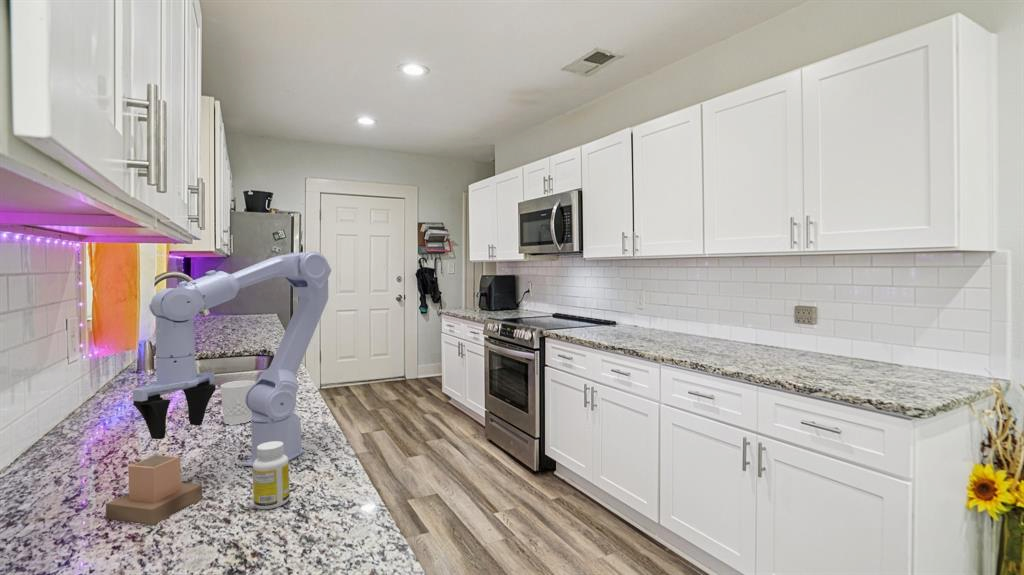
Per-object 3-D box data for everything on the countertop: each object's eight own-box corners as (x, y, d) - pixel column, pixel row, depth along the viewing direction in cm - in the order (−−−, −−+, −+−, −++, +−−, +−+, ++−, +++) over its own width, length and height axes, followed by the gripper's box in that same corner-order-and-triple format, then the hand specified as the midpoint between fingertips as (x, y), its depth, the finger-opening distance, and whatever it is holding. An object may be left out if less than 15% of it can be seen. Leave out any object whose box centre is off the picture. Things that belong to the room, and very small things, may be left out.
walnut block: (159, 496, 85) (159, 480, 85) (202, 502, 83) (201, 485, 83) (106, 522, 77) (105, 503, 77) (152, 529, 75) (151, 509, 75)
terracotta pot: (156, 487, 83) (155, 454, 82) (180, 489, 82) (179, 456, 81) (129, 500, 78) (128, 465, 78) (154, 502, 77) (153, 468, 77)
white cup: (242, 427, 123) (241, 387, 122) (214, 425, 124) (213, 386, 123) (262, 417, 130) (262, 380, 130) (236, 416, 132) (235, 379, 131)
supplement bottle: (280, 492, 86) (279, 437, 86) (295, 501, 82) (294, 444, 82) (247, 503, 82) (246, 445, 81) (262, 513, 78) (261, 453, 78)
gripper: (156, 363, 79) (158, 447, 79) (227, 349, 93) (228, 420, 93) (121, 362, 80) (123, 443, 81) (196, 348, 95) (198, 418, 95)
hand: (177, 431), depth 87 cm, fingers open, 7 cm apart
